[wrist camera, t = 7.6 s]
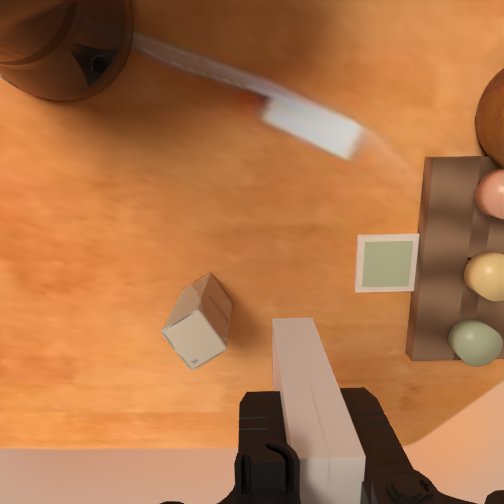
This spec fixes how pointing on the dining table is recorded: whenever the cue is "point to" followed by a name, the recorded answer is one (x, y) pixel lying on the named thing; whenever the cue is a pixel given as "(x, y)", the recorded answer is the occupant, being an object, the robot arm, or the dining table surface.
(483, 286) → the button ochre
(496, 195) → the button terracotta
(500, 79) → the potted plant
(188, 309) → the box
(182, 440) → the dining table surface
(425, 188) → the board
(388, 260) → the swatch
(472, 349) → the button green
